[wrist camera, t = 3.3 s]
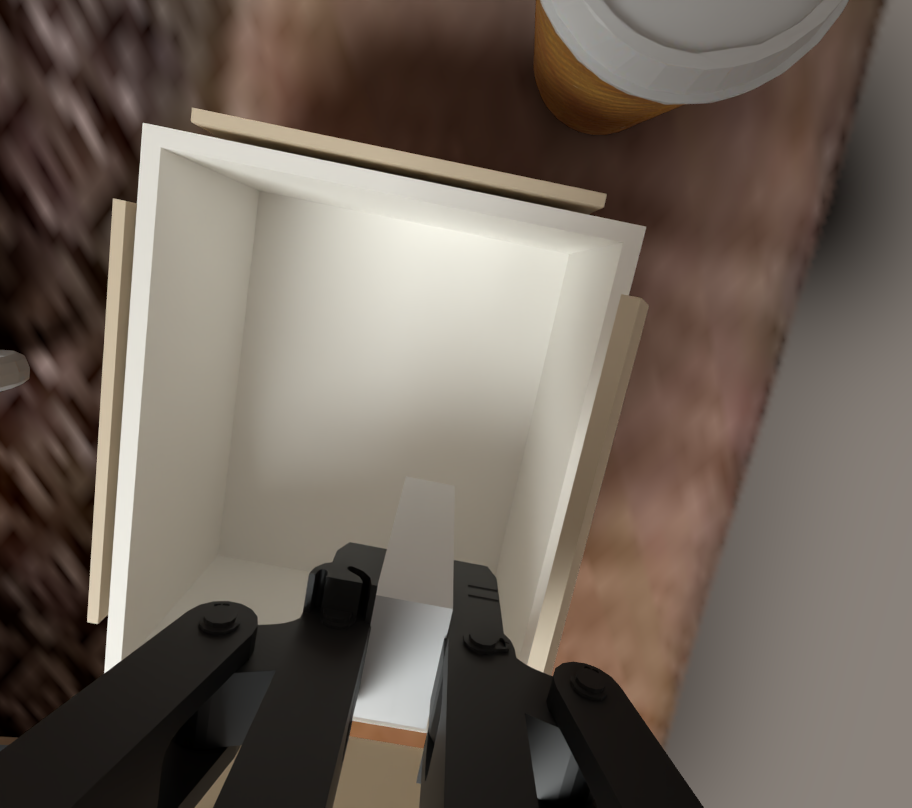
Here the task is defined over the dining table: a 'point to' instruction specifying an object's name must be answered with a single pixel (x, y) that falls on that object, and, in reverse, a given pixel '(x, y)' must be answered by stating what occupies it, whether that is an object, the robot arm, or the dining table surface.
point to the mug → (12, 369)
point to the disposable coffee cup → (664, 53)
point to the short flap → (364, 777)
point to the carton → (337, 368)
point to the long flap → (588, 479)
